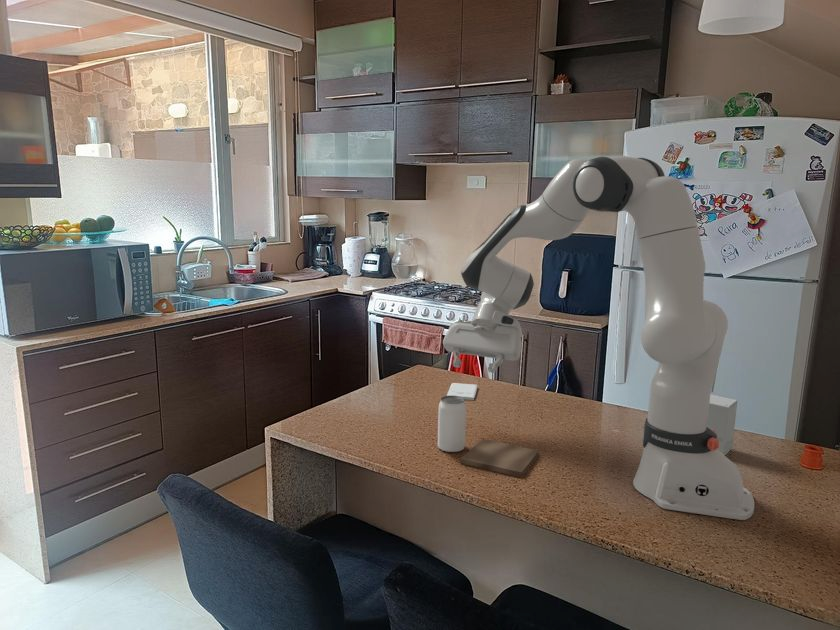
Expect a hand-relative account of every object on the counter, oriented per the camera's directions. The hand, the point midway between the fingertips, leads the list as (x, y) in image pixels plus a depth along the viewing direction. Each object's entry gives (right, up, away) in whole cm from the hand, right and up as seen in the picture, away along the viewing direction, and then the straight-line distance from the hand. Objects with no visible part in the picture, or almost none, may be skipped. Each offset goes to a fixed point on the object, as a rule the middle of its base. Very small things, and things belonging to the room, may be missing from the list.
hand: (473, 368), depth 151 cm
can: (-6, -18, -8) cm, 21 cm away
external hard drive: (0, -11, +33) cm, 35 cm away
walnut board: (+5, -19, -14) cm, 24 cm away
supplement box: (+57, -19, -6) cm, 60 cm away
